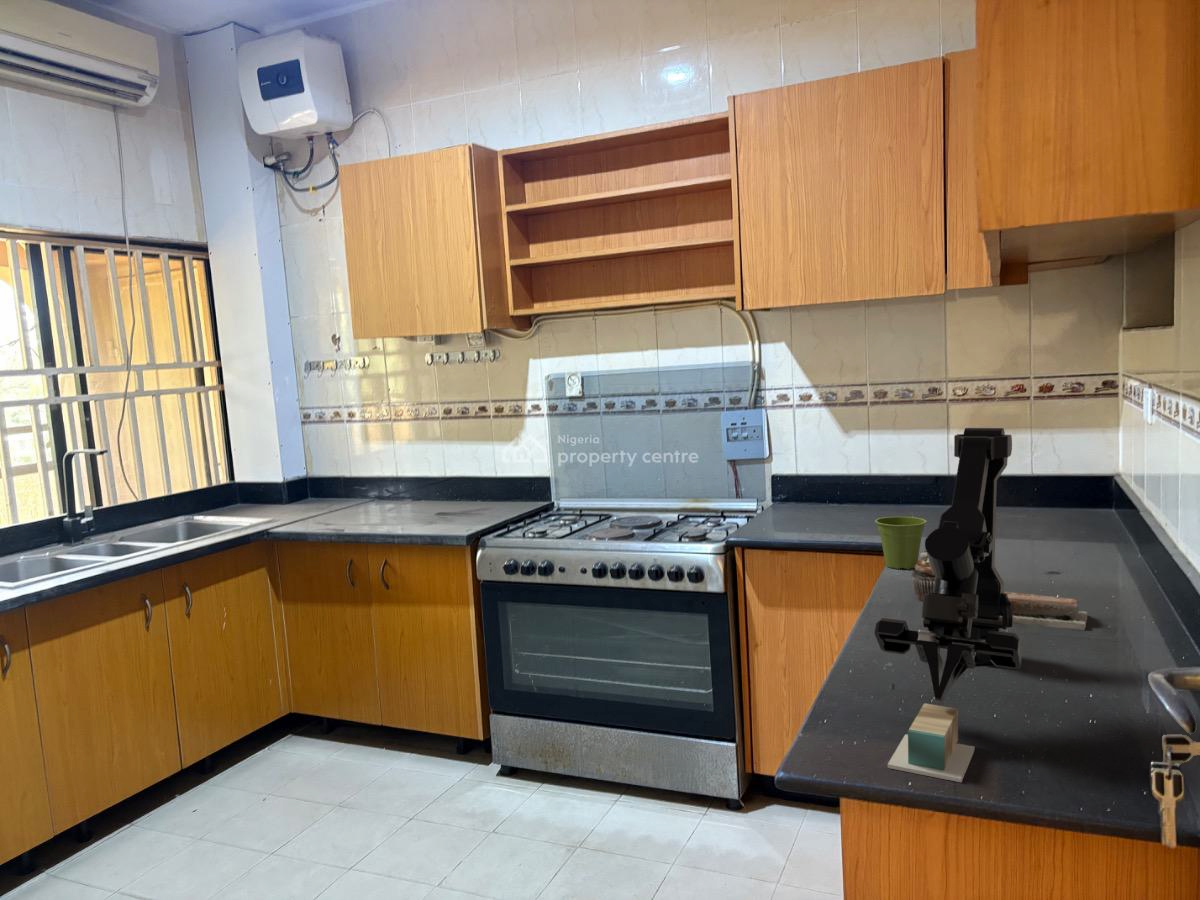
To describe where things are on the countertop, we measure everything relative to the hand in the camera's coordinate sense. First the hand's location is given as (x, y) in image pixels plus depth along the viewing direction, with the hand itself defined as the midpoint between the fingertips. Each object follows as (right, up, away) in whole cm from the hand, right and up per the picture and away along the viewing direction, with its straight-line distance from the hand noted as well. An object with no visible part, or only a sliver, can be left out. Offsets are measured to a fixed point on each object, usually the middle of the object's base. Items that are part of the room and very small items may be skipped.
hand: (938, 699), depth 121 cm
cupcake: (+25, +2, +68) cm, 73 cm away
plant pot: (+27, +5, +96) cm, 100 cm away
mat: (-2, -7, -3) cm, 8 cm away
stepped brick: (+39, 0, +53) cm, 65 cm away
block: (+1, -4, +2) cm, 4 cm away
